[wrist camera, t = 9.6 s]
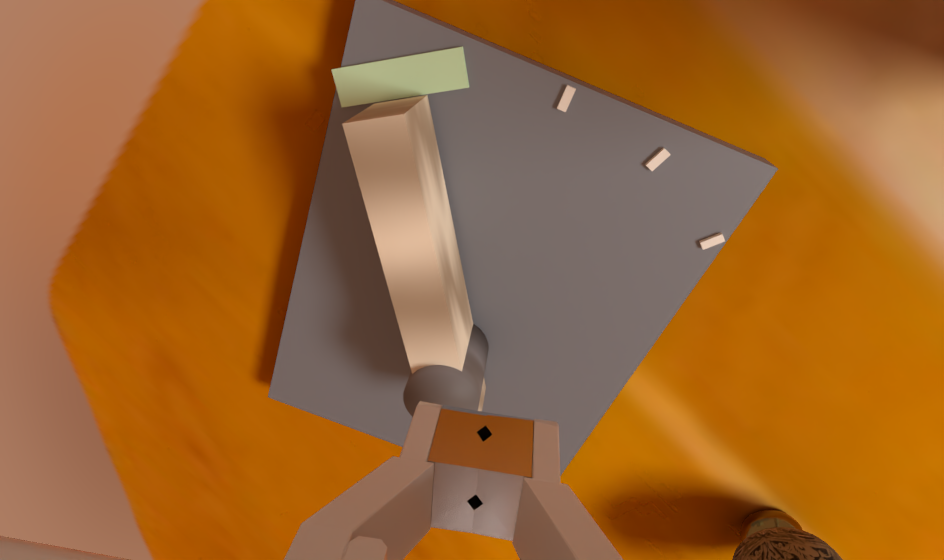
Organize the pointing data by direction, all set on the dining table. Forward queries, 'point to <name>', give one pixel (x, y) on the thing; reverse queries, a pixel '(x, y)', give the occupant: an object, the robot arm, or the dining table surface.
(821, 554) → the cup
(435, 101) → the dial board
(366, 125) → the long tan beam
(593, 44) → the dining table surface
